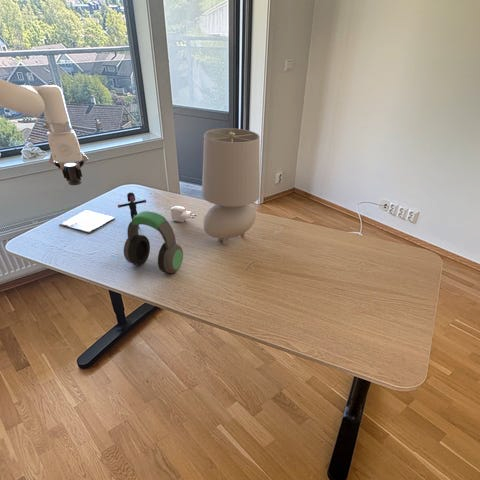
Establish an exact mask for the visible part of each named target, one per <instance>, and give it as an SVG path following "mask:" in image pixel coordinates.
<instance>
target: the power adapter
mask: <svg viewBox="0 0 480 480" xmlns="http://www.w3.org/2000/svg"><path fill="white" fill-rule="evenodd" d="M170 215H171V221H173V222H178V223H184V222H186V220H189V218H190V219H195V217H197V216H198V214H195V213H193V212H192V211H188V210H187V209H186V207H183V206H178V205H174V206H172V207H171V209H170Z"/></svg>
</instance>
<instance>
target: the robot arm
mask: <svg viewBox="0 0 480 480" xmlns="http://www.w3.org/2000/svg"><path fill="white" fill-rule="evenodd" d="M0 107H1V108H3V109H7V110H11V111H13V112H15V113H19V114H22V115H26V116H29V117H39V116H41V115H42V114H43V115H44V118H45V123H42V126H43V127H42V128H43V129H46V130H47V133H46V134H47V140H48V146H49V149H50V155H49V158H48V163H49V164H51V165H54V166H55V167H57V168H58V169H60V171H61V172H62V175H63V178H64V179H65V180H66V182H68V181H69V178H68V175H67V171H66V168H65V167H64V165H65V164H66V163H75V164H76V170H77V174H78V177H79V180H81V181H82V178H83V174H82V173H83V172H82V170H81V168H82V167H83V166H84V165H85V163H87V162H88V161H89V158H88V156H87V155H86V154H85V153H84V152H83V151H82V149H81V146H80V143H79V140H78V136H77V134H76V132H75V130H74V129H72V124H71V121H70V117H69V113H68V110H67V106H66V101H65V97H64V94H63V90H62V88H61V87H59V86H58V85H56V84H55V85H54V84H45V85H38V86H37V85H28V84H20V85H18V84H16V83H14V82H10V81H7V80H5V79H2V78H0Z"/></svg>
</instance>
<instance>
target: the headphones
mask: <svg viewBox="0 0 480 480" xmlns="http://www.w3.org/2000/svg"><path fill="white" fill-rule="evenodd" d="M138 225H139V226H140V225H143V226H147V227H150V228H153V229H154V230H155V231H157V232H159V234H160V235H161V237H162V239H163V241H164V242H163V243H162V245H161V246H160V248H159V251H158V255H157V266H158V268H159V270H160V272H162V273H166V274H167V273H168V274H175V273H176V272H178V271H179V270H180V268H181V266H182V264H183V260H184V252H183V248H182V246H181V245H180V244H179V243H177V241H176V240H177V239H176V235H175V231H174V230H173V227H172V225H171V224H170V222H169V221H168V220H167V219H166V217H165V216H163V215H162V214H159V213H157V212H155V211H146V210H145V211H141V212H139V213H137V215H136V216H135V215H134V217H133V218H131V221H130V222H129V223H128V226H127V233H126V234H127V238H126V239H125V242H124V245H123V257H124V258H125V260H126V262H128V263H130V264H132V265H133V266H136V267H140V266H143V265H145V263H146V262H147V260H148V258H149V255H150V252H151V251H150V250H151V244H150V240H149V238H148V237H147V236H146V235H144V234H139V229H138Z"/></svg>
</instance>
